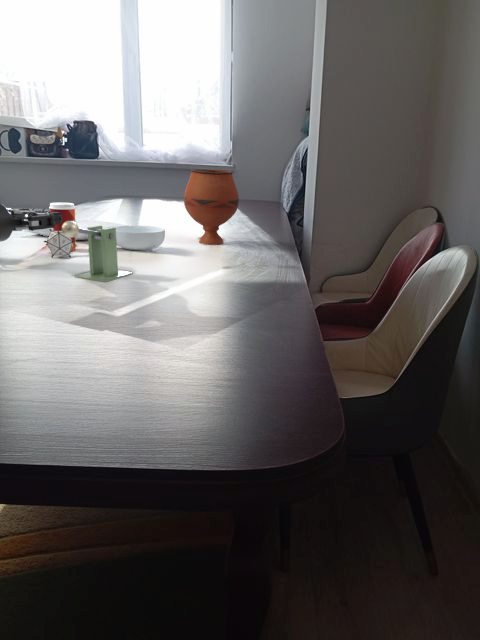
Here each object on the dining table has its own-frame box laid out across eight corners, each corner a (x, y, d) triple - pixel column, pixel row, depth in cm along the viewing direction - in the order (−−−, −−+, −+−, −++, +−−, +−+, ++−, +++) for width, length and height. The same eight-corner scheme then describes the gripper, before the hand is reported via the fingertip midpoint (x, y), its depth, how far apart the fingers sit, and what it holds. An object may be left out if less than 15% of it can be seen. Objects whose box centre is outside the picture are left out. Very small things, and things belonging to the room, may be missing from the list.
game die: (66, 268, 153) (83, 239, 155) (65, 263, 145) (82, 233, 147) (38, 252, 151) (55, 223, 152) (34, 247, 143) (52, 216, 144)
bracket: (105, 286, 122) (102, 231, 118) (75, 281, 125) (70, 227, 121) (132, 277, 132) (130, 226, 127) (104, 272, 135) (101, 223, 130)
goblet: (175, 244, 180) (174, 168, 171) (196, 236, 197) (196, 168, 188) (227, 249, 175) (229, 172, 166) (243, 241, 193) (246, 171, 184)
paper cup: (83, 250, 160) (80, 204, 155) (59, 252, 155) (55, 205, 150) (72, 246, 165) (68, 201, 160) (48, 248, 160) (43, 202, 155)
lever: (70, 237, 112) (71, 220, 112) (57, 235, 114) (58, 218, 113) (111, 243, 126) (112, 228, 125) (99, 242, 127) (100, 227, 126)
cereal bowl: (175, 250, 169) (175, 228, 166) (142, 258, 155) (141, 234, 152) (135, 244, 176) (134, 222, 173) (100, 250, 162) (98, 227, 159)
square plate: (131, 234, 193) (131, 224, 192) (79, 244, 170) (78, 232, 169) (75, 226, 203) (75, 216, 202) (19, 234, 180) (18, 223, 178)
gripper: (4, 205, 89) (70, 199, 103) (-55, 198, 94) (16, 194, 108) (10, 248, 92) (73, 237, 106) (-48, 239, 96) (20, 230, 111)
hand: (44, 215), depth 107 cm, fingers open, 8 cm apart
